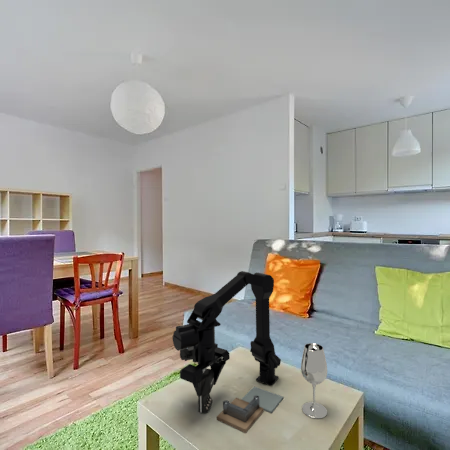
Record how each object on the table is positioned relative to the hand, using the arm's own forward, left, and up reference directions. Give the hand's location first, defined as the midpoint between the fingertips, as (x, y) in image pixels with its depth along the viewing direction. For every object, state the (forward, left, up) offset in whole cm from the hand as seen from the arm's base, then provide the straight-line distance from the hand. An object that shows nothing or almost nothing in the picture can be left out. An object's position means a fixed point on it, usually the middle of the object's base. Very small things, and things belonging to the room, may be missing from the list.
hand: (206, 390), depth 93 cm
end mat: (-13, +13, -6) cm, 19 cm away
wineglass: (-17, +29, -6) cm, 34 cm away
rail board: (-3, +11, -6) cm, 13 cm away
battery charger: (0, 0, -6) cm, 6 cm away
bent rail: (-4, +11, -5) cm, 12 cm away
